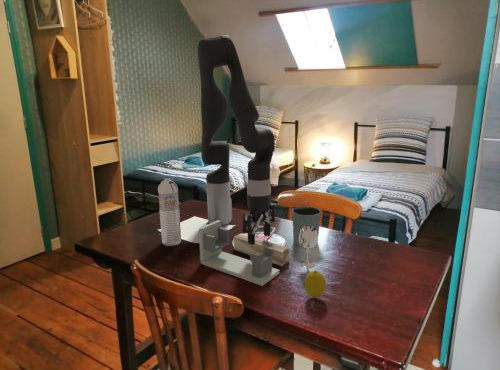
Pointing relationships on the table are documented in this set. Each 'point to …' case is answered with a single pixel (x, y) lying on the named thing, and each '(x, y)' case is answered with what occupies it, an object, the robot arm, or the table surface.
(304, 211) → the grey plant pot
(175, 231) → the water bottle
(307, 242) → the wineglass
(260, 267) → the bracket stand
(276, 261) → the rail
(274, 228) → the phone case
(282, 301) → the table surface
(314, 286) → the lemon
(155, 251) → the table surface
